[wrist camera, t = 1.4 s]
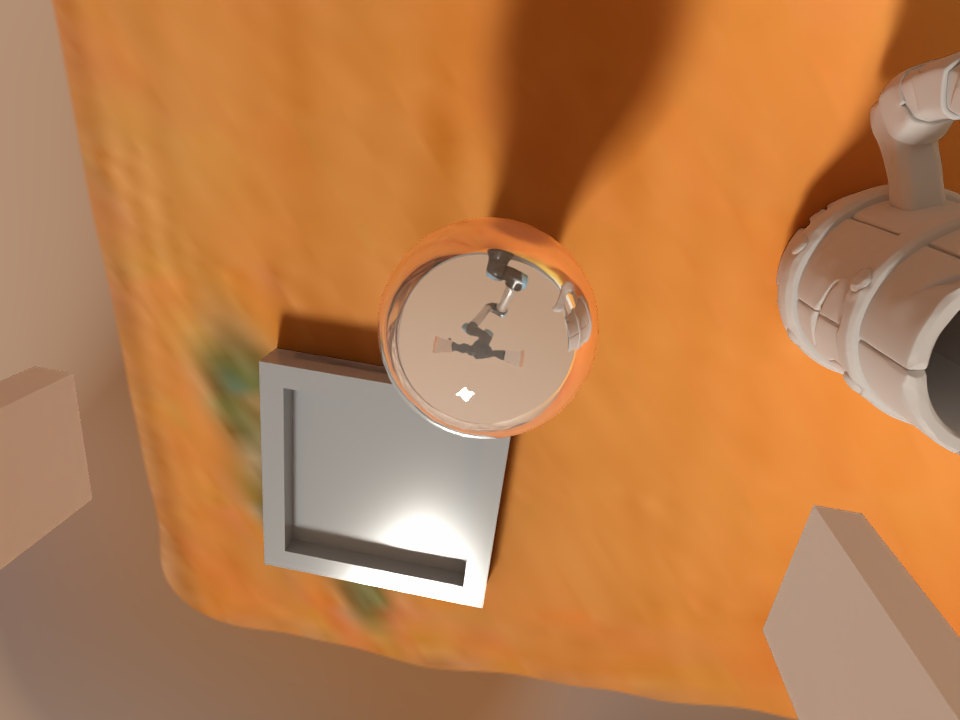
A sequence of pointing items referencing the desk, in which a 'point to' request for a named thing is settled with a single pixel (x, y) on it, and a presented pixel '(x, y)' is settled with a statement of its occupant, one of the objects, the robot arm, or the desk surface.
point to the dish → (372, 482)
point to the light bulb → (488, 328)
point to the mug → (889, 266)
